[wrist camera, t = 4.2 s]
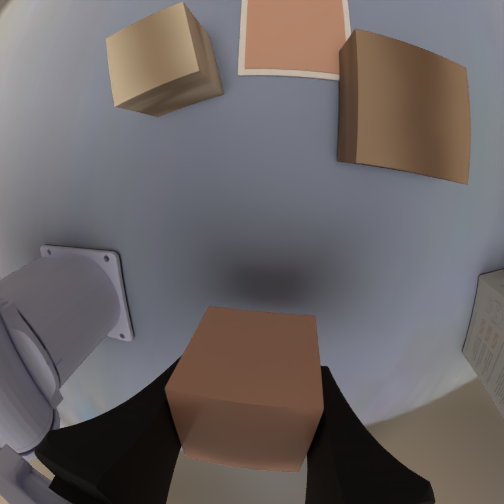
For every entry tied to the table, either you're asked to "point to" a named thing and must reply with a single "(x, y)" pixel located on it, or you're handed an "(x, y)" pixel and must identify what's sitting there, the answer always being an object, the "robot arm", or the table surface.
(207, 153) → the table surface
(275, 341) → the terracotta block
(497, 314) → the small box
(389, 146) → the brown cardboard carton
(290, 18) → the tile
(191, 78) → the maple block
